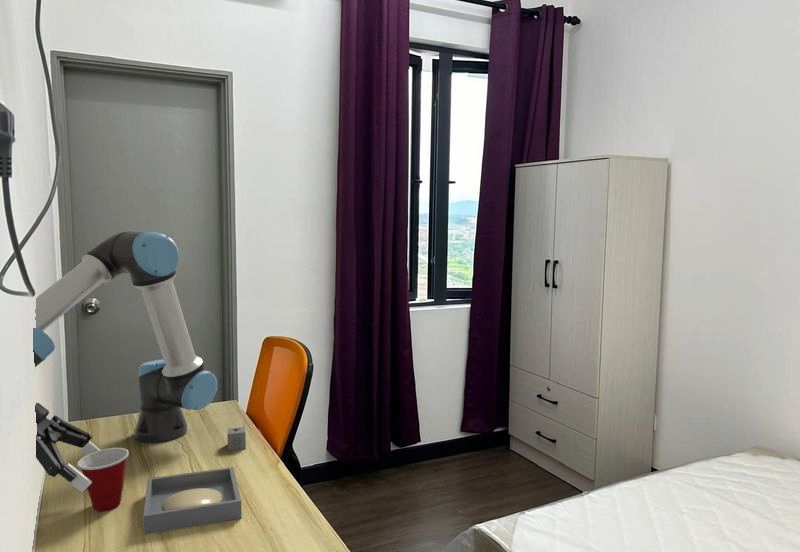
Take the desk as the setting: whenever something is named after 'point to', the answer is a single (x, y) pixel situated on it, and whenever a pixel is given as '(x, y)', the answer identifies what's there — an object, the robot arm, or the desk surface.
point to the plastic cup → (105, 476)
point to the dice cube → (236, 438)
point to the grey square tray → (191, 500)
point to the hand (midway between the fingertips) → (97, 474)
